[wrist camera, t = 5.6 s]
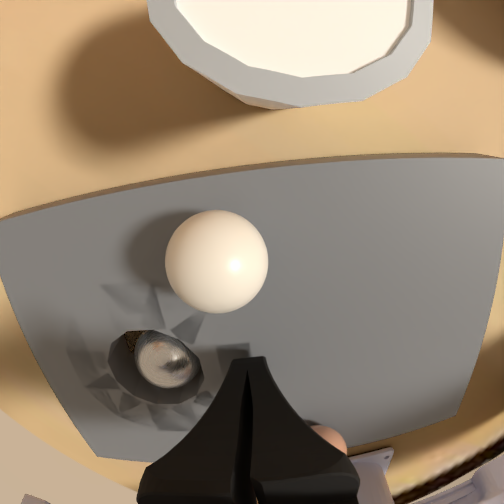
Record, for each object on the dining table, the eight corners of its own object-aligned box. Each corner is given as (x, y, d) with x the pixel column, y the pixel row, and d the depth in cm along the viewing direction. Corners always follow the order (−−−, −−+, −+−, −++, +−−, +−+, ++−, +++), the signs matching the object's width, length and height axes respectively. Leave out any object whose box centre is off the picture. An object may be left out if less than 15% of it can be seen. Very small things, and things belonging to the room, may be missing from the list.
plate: (476, 153, 13) (507, 158, 10) (440, 392, 18) (455, 415, 16) (14, 212, 13) (-15, 225, 11) (106, 431, 19) (97, 456, 16)
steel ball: (179, 393, 15) (171, 409, 12) (131, 356, 15) (112, 363, 12) (214, 347, 16) (214, 352, 13) (165, 309, 16) (154, 306, 13)
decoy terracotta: (338, 442, 16) (349, 485, 13) (283, 451, 16) (288, 495, 13) (341, 408, 15) (356, 455, 12) (279, 418, 15) (285, 468, 12)
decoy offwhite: (269, 280, 12) (277, 327, 9) (185, 290, 12) (168, 338, 9) (259, 195, 11) (265, 217, 8) (168, 208, 11) (141, 234, 8)
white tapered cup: (165, 91, 12) (91, 51, 5) (229, -35, 10) (221, -133, 3) (316, 150, 13) (385, 163, 6) (372, 22, 11) (456, -40, 4)
